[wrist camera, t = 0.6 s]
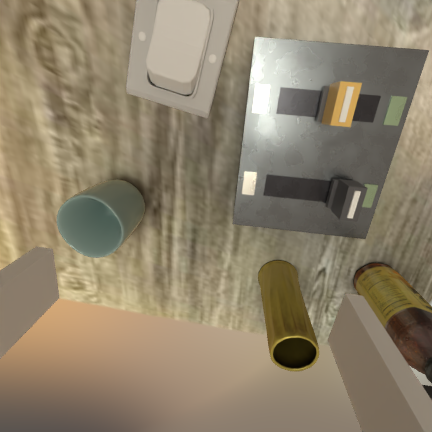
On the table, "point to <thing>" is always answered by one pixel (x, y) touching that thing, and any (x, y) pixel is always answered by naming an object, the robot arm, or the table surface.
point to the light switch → (179, 51)
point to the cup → (101, 217)
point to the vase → (287, 318)
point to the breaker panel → (319, 131)
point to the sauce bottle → (399, 313)
